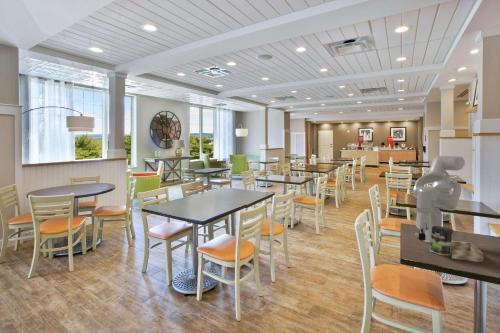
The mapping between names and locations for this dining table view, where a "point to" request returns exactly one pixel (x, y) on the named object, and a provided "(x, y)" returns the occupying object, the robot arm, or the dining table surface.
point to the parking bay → (466, 251)
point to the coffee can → (441, 240)
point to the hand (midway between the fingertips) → (421, 239)
